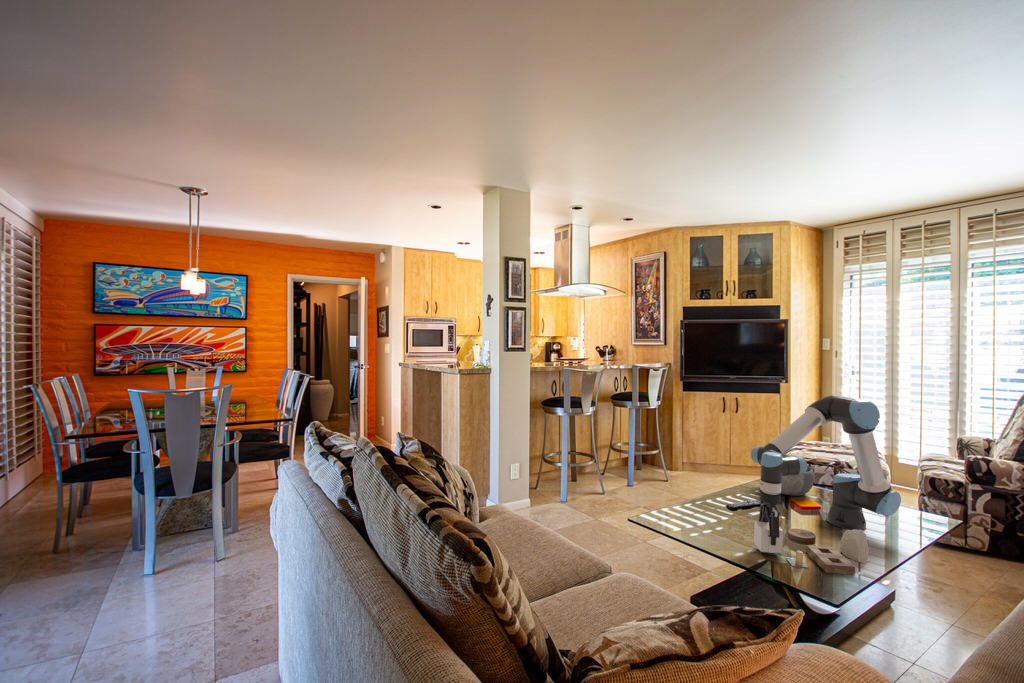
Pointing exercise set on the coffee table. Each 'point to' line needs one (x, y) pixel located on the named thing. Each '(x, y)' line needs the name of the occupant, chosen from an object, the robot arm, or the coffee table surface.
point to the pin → (782, 526)
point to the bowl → (798, 483)
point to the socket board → (830, 560)
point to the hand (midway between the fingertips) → (767, 547)
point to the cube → (766, 537)
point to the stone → (854, 545)
